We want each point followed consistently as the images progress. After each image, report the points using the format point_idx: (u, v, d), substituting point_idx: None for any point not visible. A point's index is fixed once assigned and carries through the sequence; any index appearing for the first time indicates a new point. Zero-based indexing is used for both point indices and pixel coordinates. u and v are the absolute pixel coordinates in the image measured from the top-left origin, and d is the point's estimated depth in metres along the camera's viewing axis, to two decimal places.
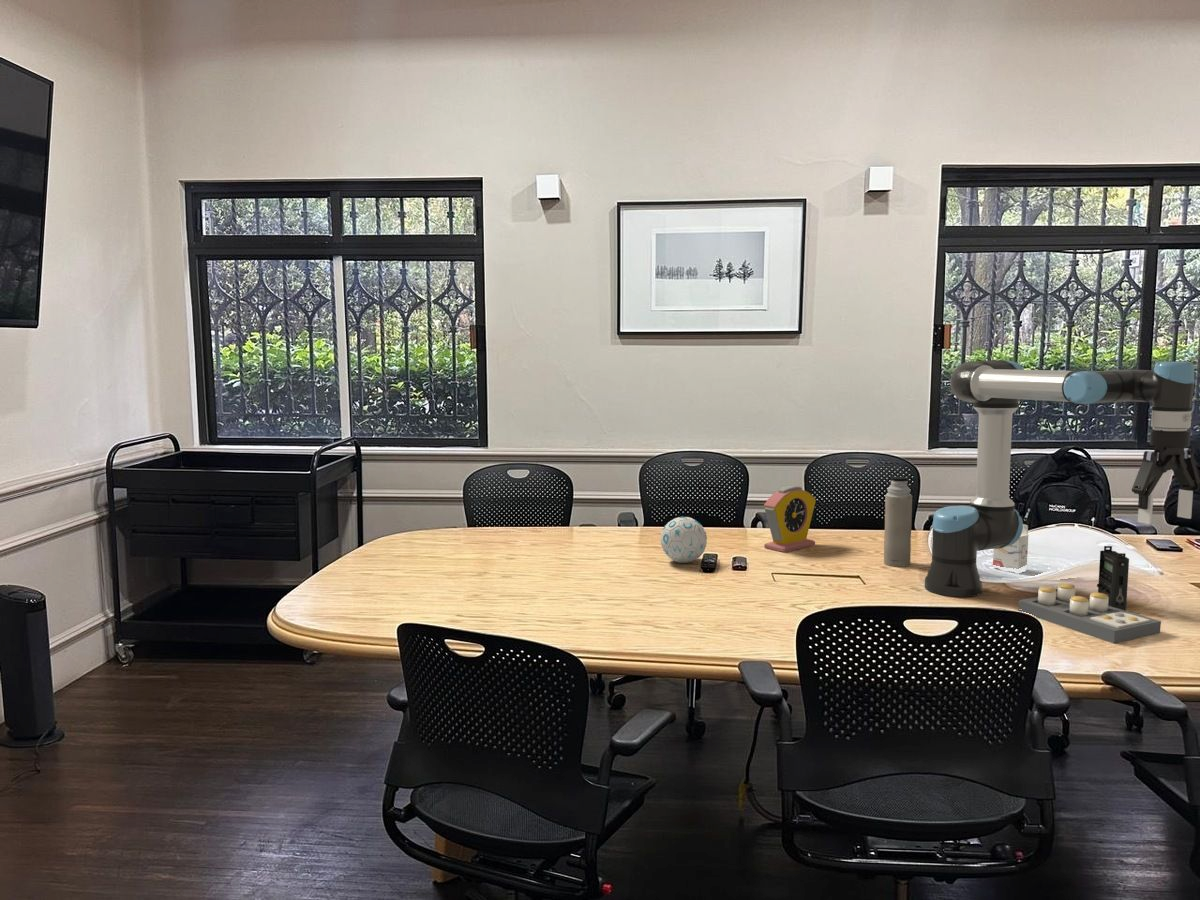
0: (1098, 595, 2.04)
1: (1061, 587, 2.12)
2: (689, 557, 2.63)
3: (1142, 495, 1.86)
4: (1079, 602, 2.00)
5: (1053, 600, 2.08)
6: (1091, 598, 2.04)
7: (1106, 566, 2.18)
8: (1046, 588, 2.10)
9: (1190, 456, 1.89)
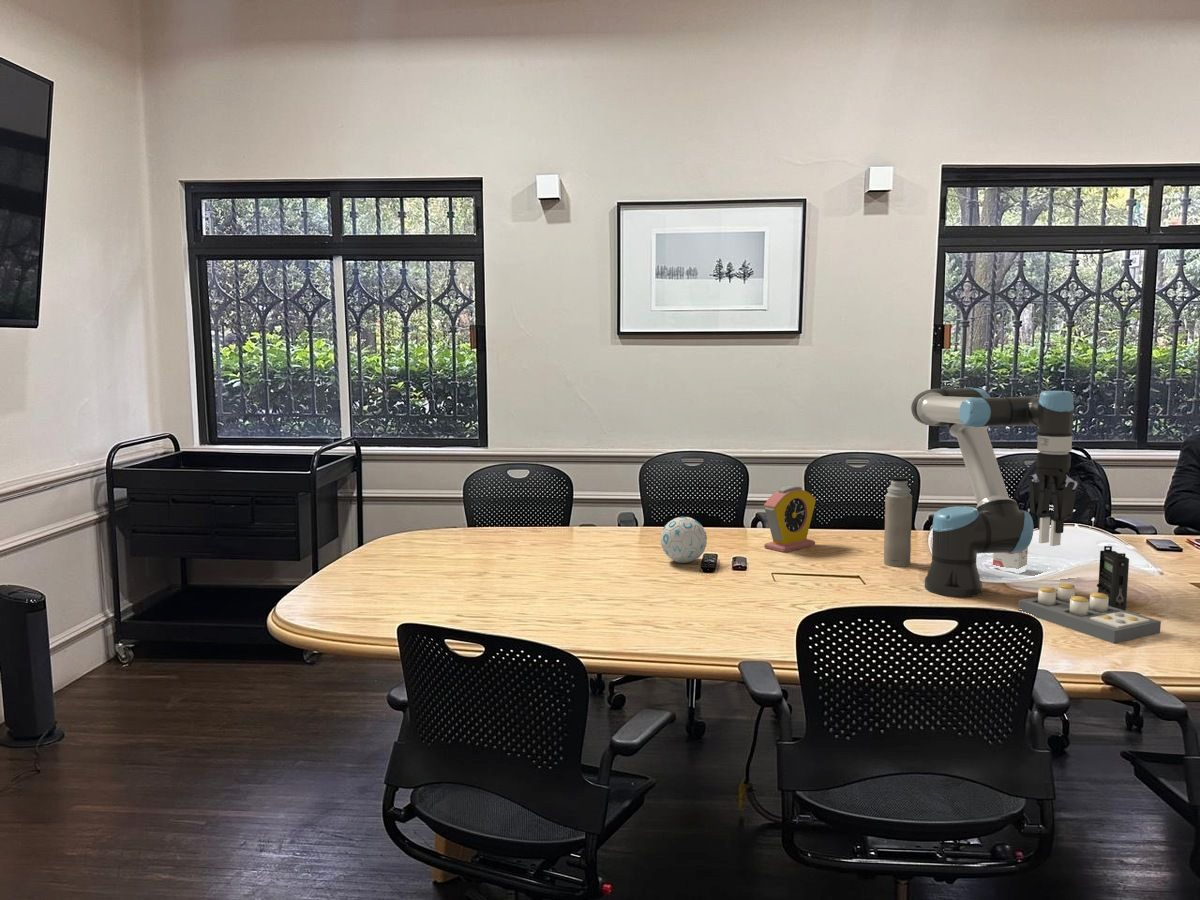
0: (1098, 595, 2.04)
1: (1061, 587, 2.12)
2: (689, 557, 2.63)
3: None
4: (1079, 602, 2.00)
5: (1053, 600, 2.08)
6: (1091, 598, 2.04)
7: (1106, 566, 2.18)
8: (1046, 588, 2.10)
9: (1066, 486, 2.02)
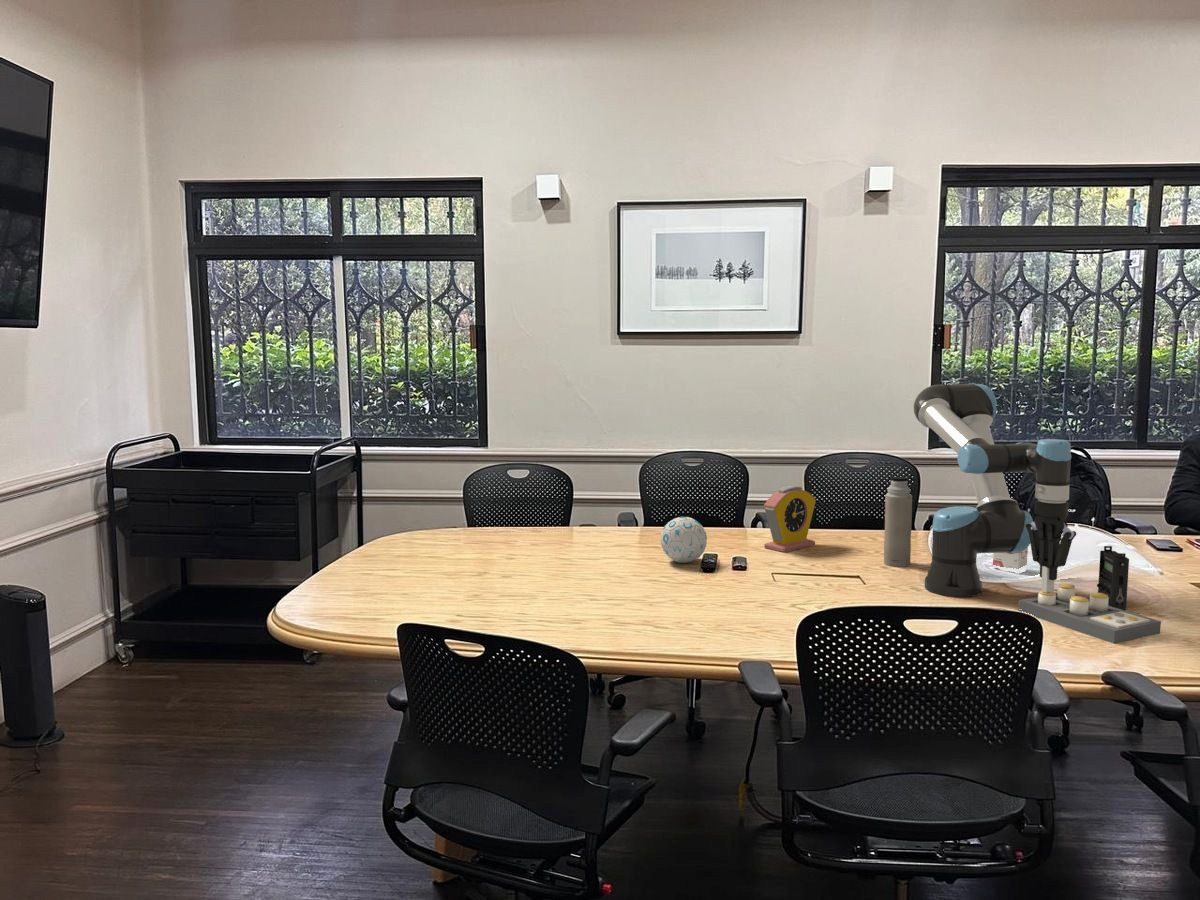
0: (1098, 595, 2.04)
1: (1061, 587, 2.12)
2: (689, 557, 2.63)
3: None
4: (1079, 602, 2.00)
5: (1053, 603, 2.08)
6: (1091, 598, 2.04)
7: (1106, 566, 2.18)
8: None
9: (1063, 535, 2.03)
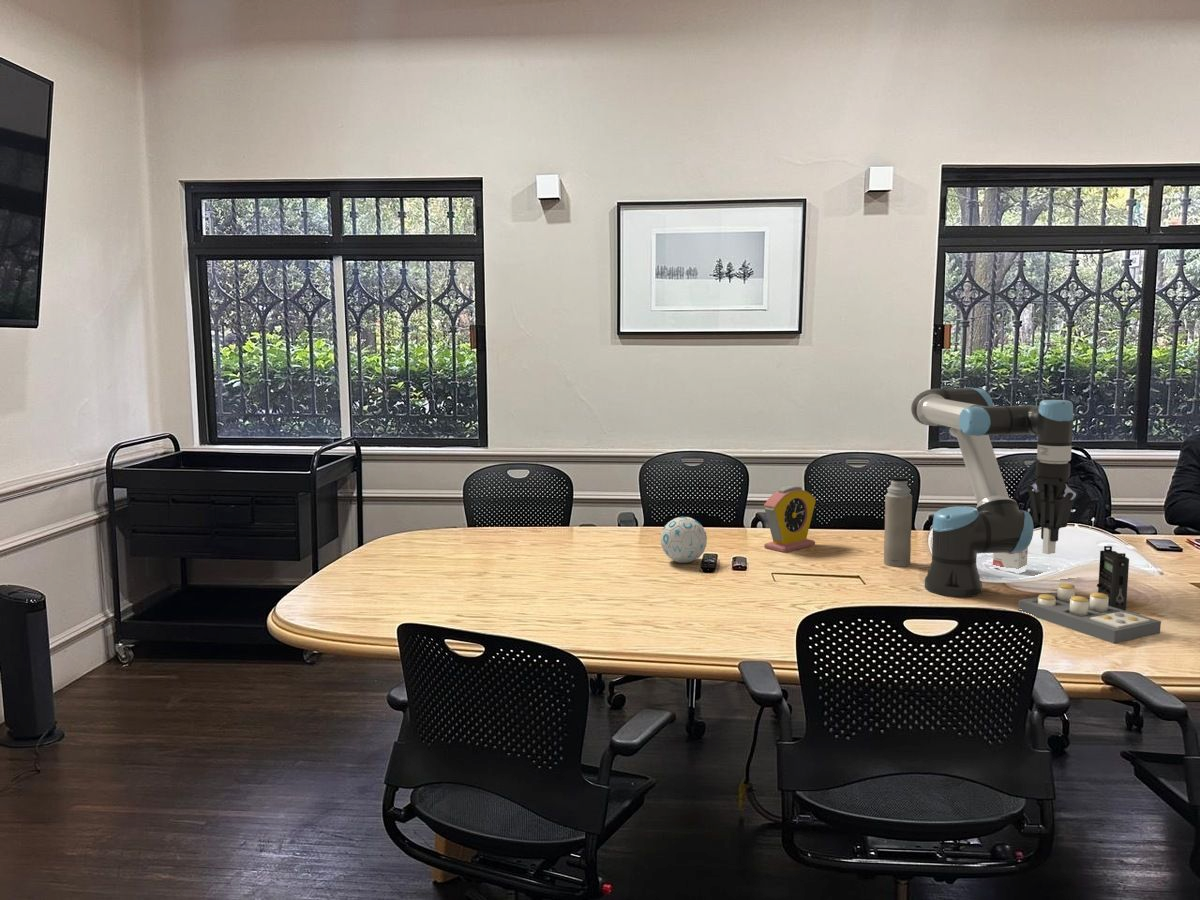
0: (1098, 595, 2.04)
1: (1061, 587, 2.12)
2: (689, 557, 2.63)
3: None
4: (1079, 602, 2.00)
5: None
6: (1091, 598, 2.04)
7: (1106, 566, 2.18)
8: (1046, 596, 2.10)
9: (1064, 496, 2.02)
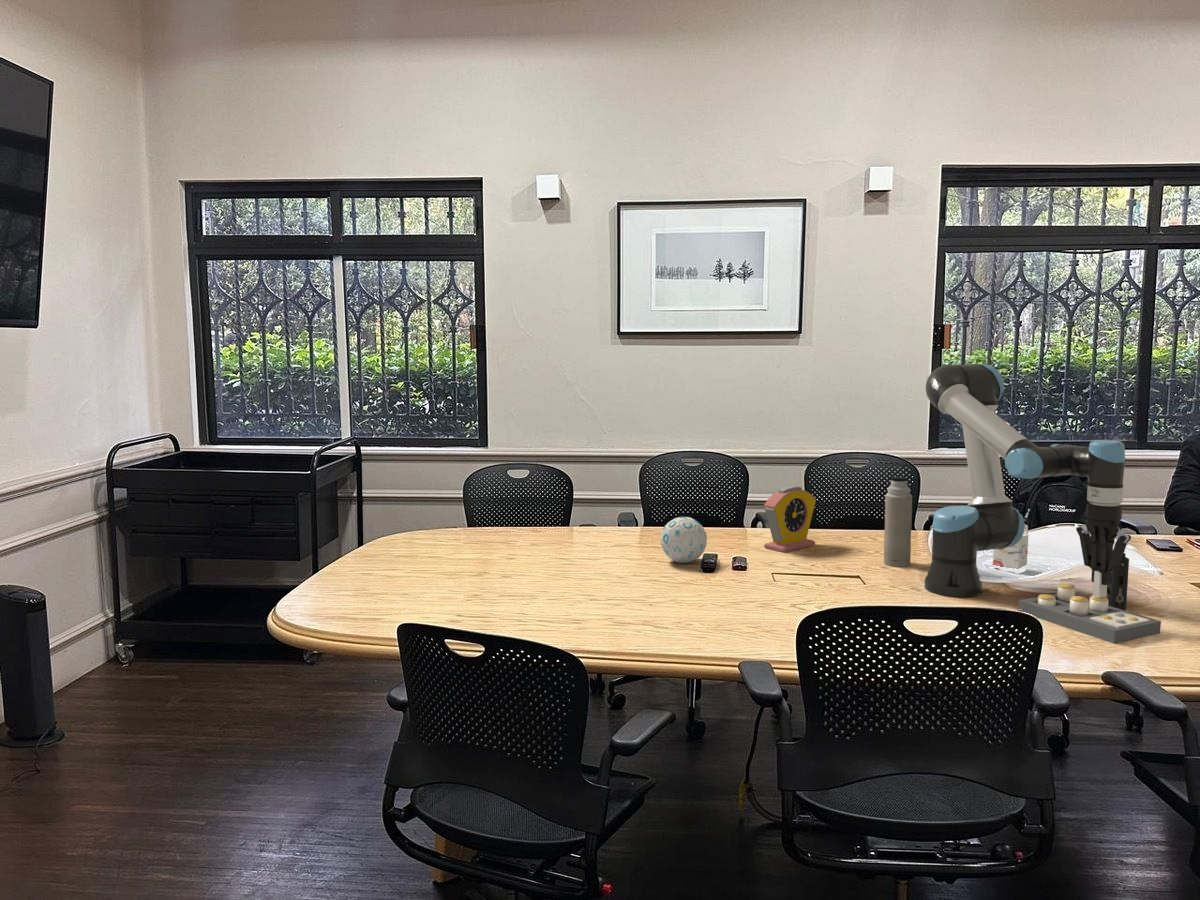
0: (1098, 598, 2.04)
1: (1061, 587, 2.12)
2: (689, 557, 2.63)
3: None
4: (1079, 602, 2.00)
5: None
6: (1091, 601, 2.04)
7: None
8: (1046, 596, 2.10)
9: (1117, 539, 1.98)
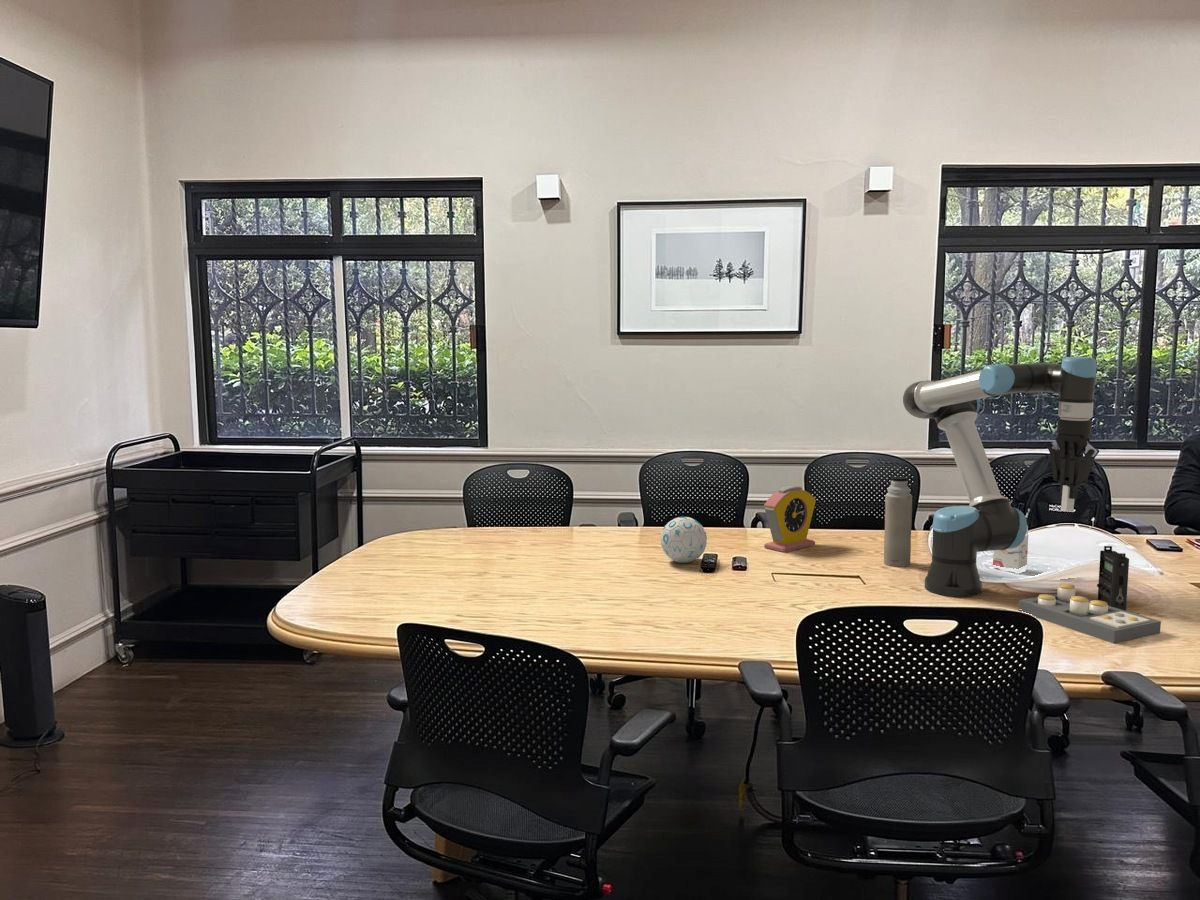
0: (1098, 603, 2.04)
1: (1061, 587, 2.12)
2: (689, 557, 2.63)
3: None
4: (1079, 602, 2.00)
5: None
6: (1091, 606, 2.05)
7: (1106, 566, 2.18)
8: (1046, 596, 2.10)
9: (1085, 453, 2.02)
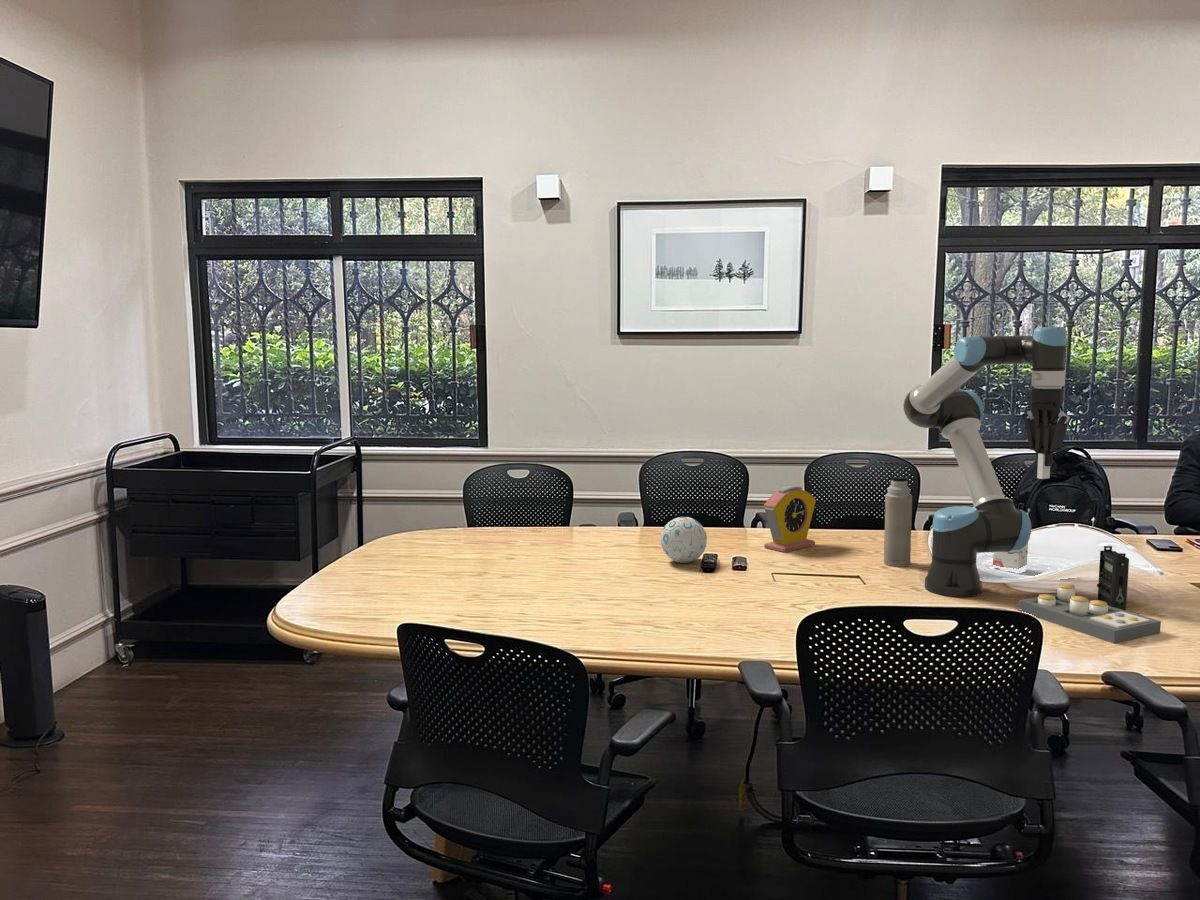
0: (1098, 603, 2.04)
1: (1061, 587, 2.12)
2: (689, 557, 2.63)
3: None
4: (1079, 602, 2.00)
5: None
6: (1091, 606, 2.05)
7: (1106, 566, 2.18)
8: (1046, 596, 2.10)
9: (1058, 420, 2.07)
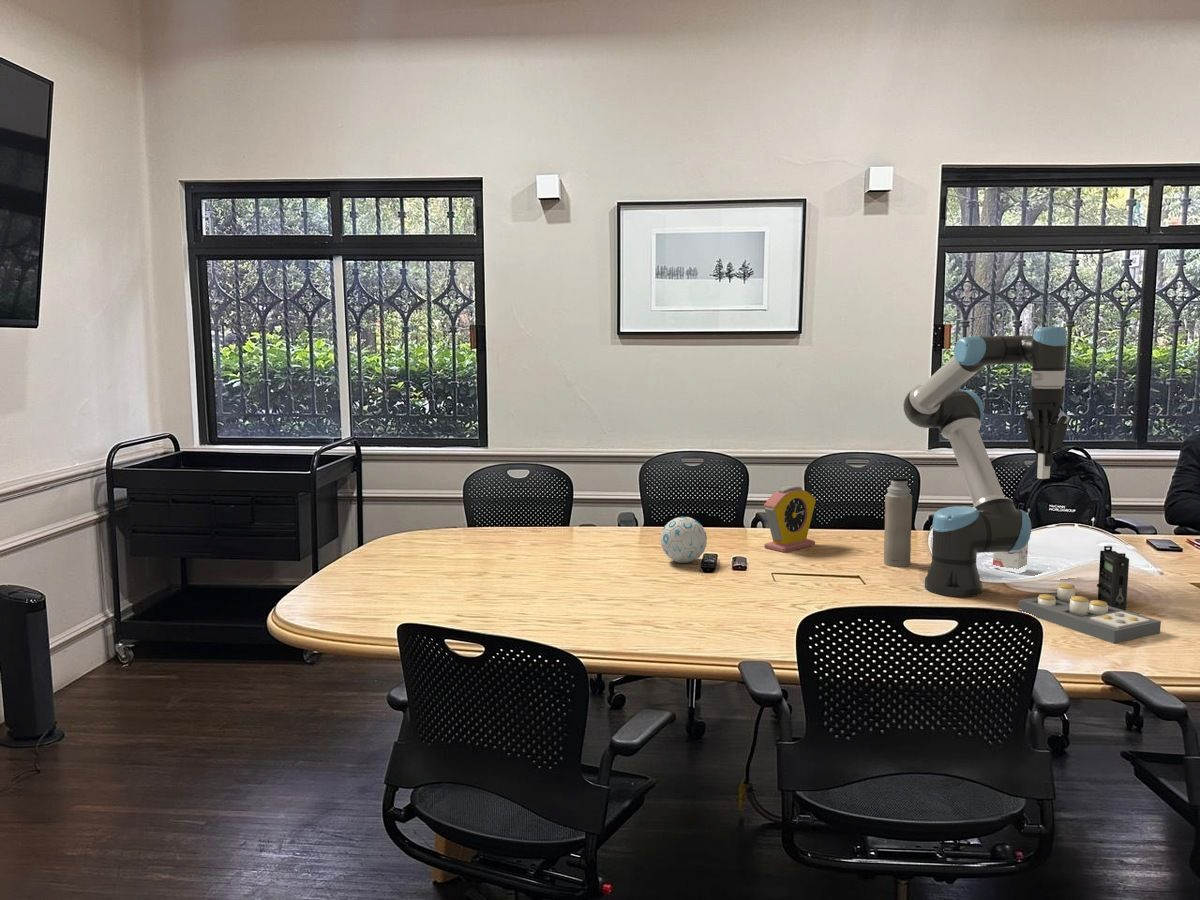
0: (1098, 603, 2.04)
1: (1061, 587, 2.12)
2: (689, 557, 2.63)
3: None
4: (1079, 602, 2.00)
5: None
6: (1091, 606, 2.05)
7: (1106, 566, 2.18)
8: (1046, 596, 2.10)
9: (1058, 420, 2.07)
